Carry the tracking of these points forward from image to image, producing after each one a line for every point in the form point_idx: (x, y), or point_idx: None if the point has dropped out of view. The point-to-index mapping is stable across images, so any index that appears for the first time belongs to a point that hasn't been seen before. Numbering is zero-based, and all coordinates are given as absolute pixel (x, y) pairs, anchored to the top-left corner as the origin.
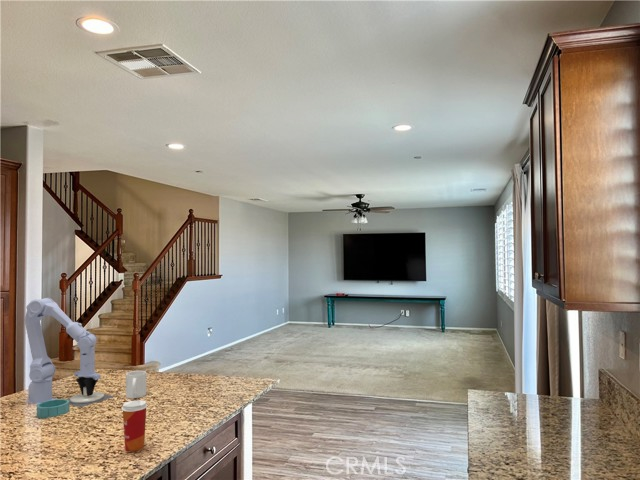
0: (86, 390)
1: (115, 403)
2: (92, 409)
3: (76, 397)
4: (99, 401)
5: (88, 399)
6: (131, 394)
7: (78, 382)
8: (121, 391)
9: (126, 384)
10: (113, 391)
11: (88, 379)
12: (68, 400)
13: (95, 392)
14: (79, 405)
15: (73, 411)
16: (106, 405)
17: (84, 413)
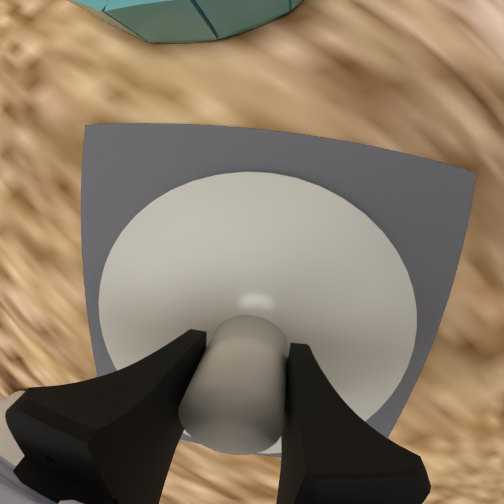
0: (204, 368)
1: (12, 312)
2: (15, 159)
3: (336, 284)
4: (87, 306)
5: (133, 269)
6: (8, 402)
7: (354, 440)
8: (205, 495)
9: (8, 454)
10: (253, 494)
11: (67, 471)
12: (97, 4)
13: (280, 443)
14: (136, 150)
15: (92, 52)
16: (14, 263)
17: (7, 82)
